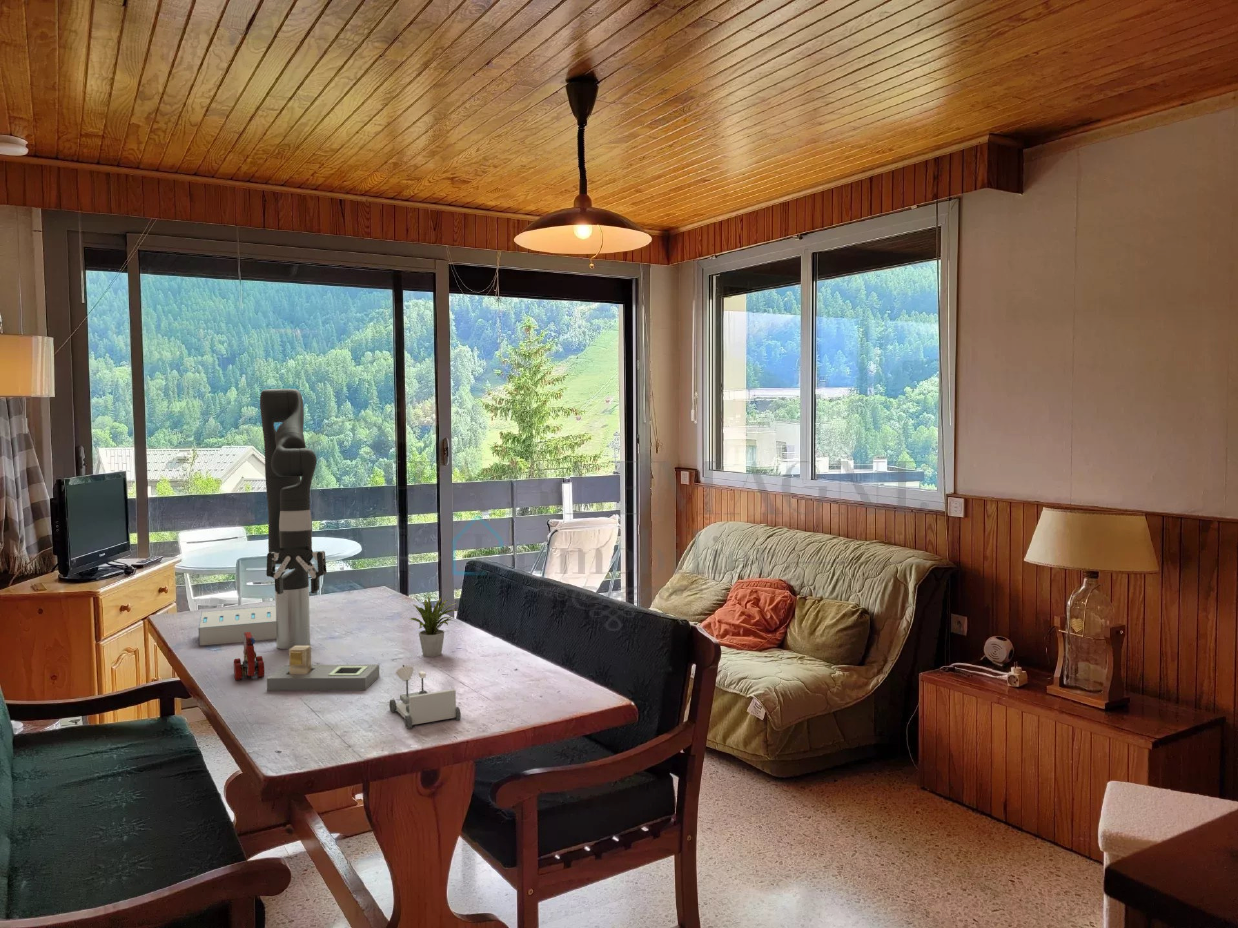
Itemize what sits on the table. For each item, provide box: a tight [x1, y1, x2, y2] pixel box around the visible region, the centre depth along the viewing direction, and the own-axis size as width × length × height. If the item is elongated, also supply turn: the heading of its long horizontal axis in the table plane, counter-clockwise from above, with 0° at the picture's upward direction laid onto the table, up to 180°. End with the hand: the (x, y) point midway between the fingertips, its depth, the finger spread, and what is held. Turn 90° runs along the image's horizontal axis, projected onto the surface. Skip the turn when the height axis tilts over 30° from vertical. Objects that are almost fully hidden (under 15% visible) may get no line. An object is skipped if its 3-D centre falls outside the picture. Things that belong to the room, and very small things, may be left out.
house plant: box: [408, 596, 459, 658], centre depth 249 cm, size 14×14×16 cm
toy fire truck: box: [233, 632, 265, 681], centre depth 231 cm, size 7×12×10 cm, turn 26°
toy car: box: [388, 664, 462, 730], centre depth 200 cm, size 18×10×12 cm
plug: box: [288, 645, 312, 674], centre depth 223 cm, size 5×4×9 cm
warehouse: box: [198, 605, 276, 646], centre depth 275 cm, size 30×14×8 cm, turn 112°
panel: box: [266, 664, 380, 691], centre depth 224 cm, size 12×24×3 cm, turn 89°
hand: (297, 593), depth 224 cm, fingers open, 8 cm apart
